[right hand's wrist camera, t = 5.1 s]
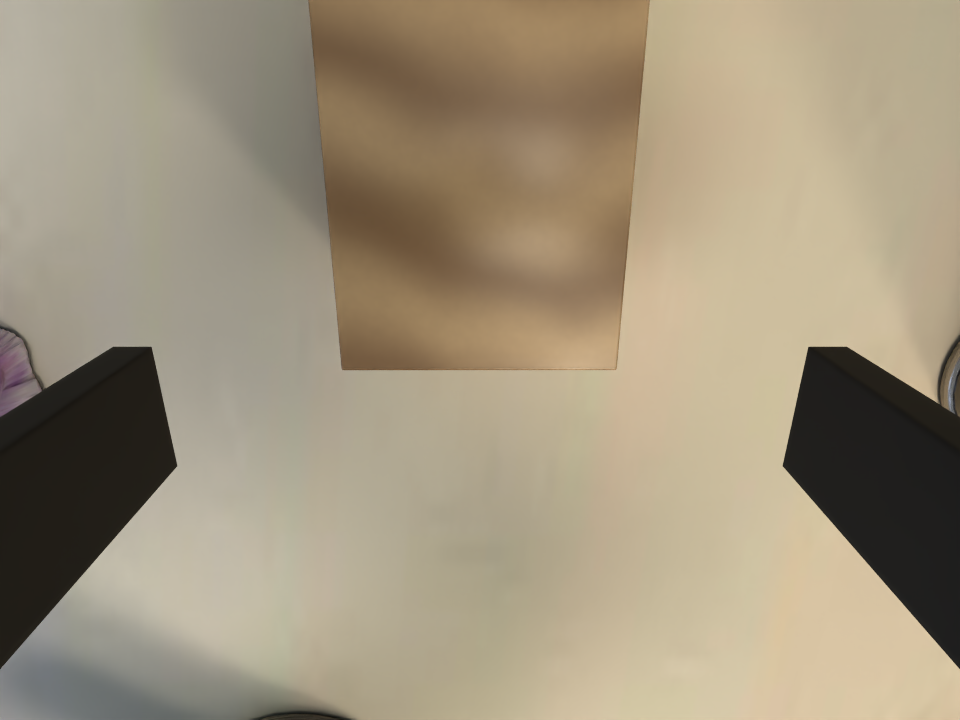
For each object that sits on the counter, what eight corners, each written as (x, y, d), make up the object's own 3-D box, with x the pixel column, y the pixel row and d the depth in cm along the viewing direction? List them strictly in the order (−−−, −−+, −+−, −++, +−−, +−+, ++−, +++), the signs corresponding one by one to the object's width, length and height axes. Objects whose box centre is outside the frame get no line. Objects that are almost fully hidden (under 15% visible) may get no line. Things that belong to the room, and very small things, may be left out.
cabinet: (349, -180, 25) (275, -353, 16) (607, -180, 25) (681, -352, 16) (379, 301, 32) (341, 370, 23) (578, 301, 32) (616, 370, 23)
